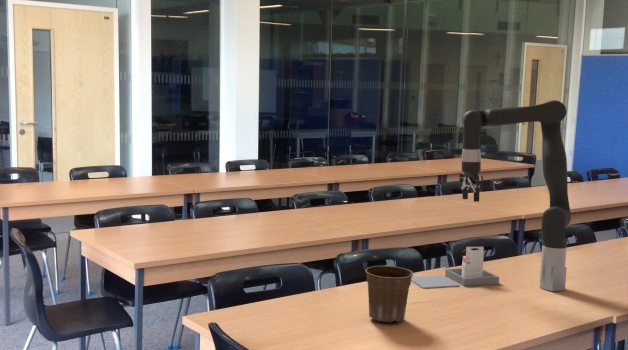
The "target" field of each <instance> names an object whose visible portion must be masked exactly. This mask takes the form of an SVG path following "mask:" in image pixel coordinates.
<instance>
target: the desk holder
mask: <svg viewBox="0 0 628 350" xmlns="http://www.w3.org/2000/svg"><path fill="white" fill-rule="evenodd" d="M444 273H445V275H444V277H445V278H447V279H449V280H451V281H453V282H455V283H456V284H458V285H461V286H463V287H470V286H472V287H474V286H489V285H499V284H500V276H498V275H496V274H495V273H492V272H489V271H487V270H486V269H484V268H483V276H482V277H476V278H464V277H462V267H460V268H445V271H444Z"/></svg>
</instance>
